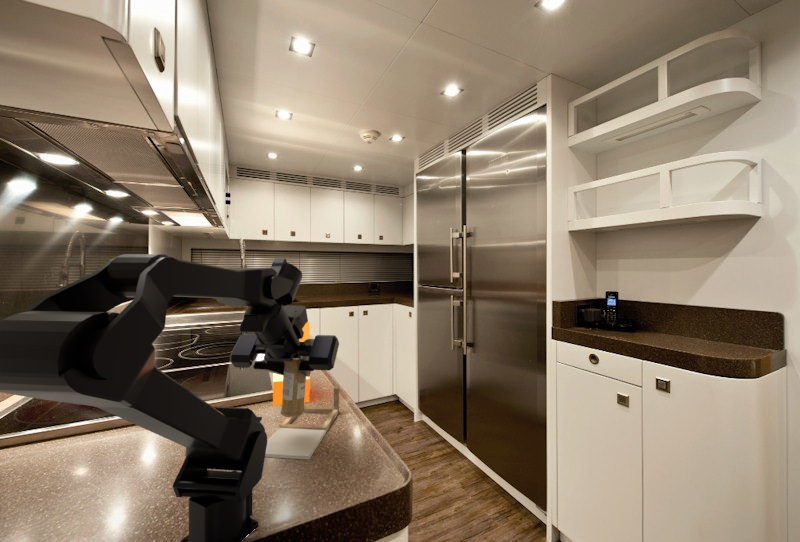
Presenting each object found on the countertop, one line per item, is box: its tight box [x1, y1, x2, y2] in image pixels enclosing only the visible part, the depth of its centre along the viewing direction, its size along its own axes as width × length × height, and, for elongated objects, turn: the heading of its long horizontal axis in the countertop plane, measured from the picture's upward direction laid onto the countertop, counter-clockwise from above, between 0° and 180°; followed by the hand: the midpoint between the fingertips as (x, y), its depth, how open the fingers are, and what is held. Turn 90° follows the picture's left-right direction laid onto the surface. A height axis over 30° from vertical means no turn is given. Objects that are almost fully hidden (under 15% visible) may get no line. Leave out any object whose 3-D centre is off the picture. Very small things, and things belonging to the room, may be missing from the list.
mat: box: [265, 428, 328, 460], centre depth 63 cm, size 10×10×1 cm
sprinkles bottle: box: [280, 358, 306, 418], centre depth 64 cm, size 5×5×13 cm
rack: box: [278, 386, 340, 431], centre depth 73 cm, size 10×10×6 cm
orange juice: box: [272, 321, 311, 407], centre depth 86 cm, size 8×9×20 cm
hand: (298, 374), depth 65 cm, fingers closed on sprinkles bottle, 4 cm apart
